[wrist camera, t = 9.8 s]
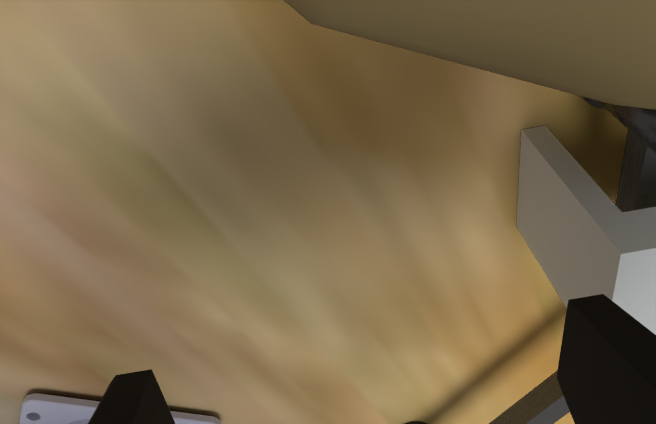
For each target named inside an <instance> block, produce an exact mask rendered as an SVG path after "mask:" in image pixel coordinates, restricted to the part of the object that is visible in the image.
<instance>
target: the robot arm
mask: <svg viewBox="0 0 656 424" xmlns="http://www.w3.org/2000/svg"><path fill="white" fill-rule="evenodd" d="M557 380H558V383H559V385H560V388H561V390H562V393H563V395H564V398H565V400H566V403H567V406H568V408H569V410H570V413H571V415H572V418H573V420H574V422H575V424H656V335H655V334H654V333H653V332H651V331H650V330H649V329H647V328H646V327H645V326H644V325H642V324H641V323H640V322H639V321H637V320H636V319H635V318H633V317H632V316H631V315H630V314H628V313H627V312H626V311H625V310H623V309H622V308H621V307H619V306H618V305H617V304H616V303H614V302H613V301H612V300H610V299H609V298H608V297H607V296H605V295H604V294H600V295H594V296H588V297H582V298H576V299H570V300H568V305H567V312H566V318H565V325H564V332H563V338H562V345H561V352H560V359H559V365H558V372H557ZM19 424H221V422H220V420H219V419H218V418H216V417H213V416H206V415H199V414H191V413H183V412H176V411H170V410H169V408H168V406H167V403H166V401H165V399H164V396H163V394H162V392H161V390H160V387H159V385H158V383H157V381H156V378H155V376H154V374H153V371H152V369H151V370H145V371H139V372H133V373H127V374H121V375H116V376H115V377H114V379H113V380H112V381H111V383H110V385H109V387H108V388H107V390H106V392H105V394H104V395H103V397H102V399H101V401H92V400H84V399H77V398H69V397H61V396H54V395H46V394H39V393H34V394H30V395H27V396H26V397H25V398H24V401H23V403H22V406H21V413H20V421H19Z"/></svg>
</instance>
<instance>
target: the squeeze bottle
mask: <svg viewBox="0 0 656 424" xmlns="http://www.w3.org/2000/svg"><path fill="white" fill-rule="evenodd" d="M284 1H285V2H286V3H287V4H289V5H290V6H291V7H292V8H293V9H295V10H296V11H297V12H298V13H299V14H301V15H302V16H303V17H304V18H305V19H307V20H308V21H309V22H310V23H311V24H314V25H318V26H322V27H325V28H329V29H333V30H337V31H340V32H344V33H348V34H351V35H355V36H359V37H363V38H366V39H370V40H374V41H378V42H381V43H385V44H389V45H393V46H396V47H400V48H404V49H407V50H411V51H415V52H419V53H422V54H426V55H430V56H434V57H437V58H441V59H445V60H448V61H452V62H456V63H460V64H463V65H467V66H471V67H475V68H478V69H482V70H486V71H490V72H493V73H497V74H501V75H504V76H508V77H512V78H516V79H519V80H523V81H527V82H531V83H534V84H538V85H542V86H545V87H549V88H553V89H557V90H560V91H564V92H568V93H572V94H575V95H579V96H583V97H587V98H590V99H594V100H598V101H601V102H605V103H609V104H613V105H621V106H629V107H638V108H646V109H656V0H284Z"/></svg>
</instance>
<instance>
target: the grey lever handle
mask: <svg viewBox="0 0 656 424" xmlns="http://www.w3.org/2000/svg"><path fill="white" fill-rule="evenodd" d="M582 97H583V96H582ZM583 98H584V99H585V100H586V101H587V102H588V103H589V104H591V105H592V106H594V107H598V108H605V109H606V110H608V111H609V112H610V113H611V114H612V115H613V116H614V117H615V118H616V119H618V120H619V121H620V122H621V123H622V124H623V125H624V126H625V127H627V128H628V133H627V139H626V145H625V151H624V157H623V163H622V169H621V174H620V180H619V186H618V192H617V198H616V204H615V205H616V206H617V207H618V208H619V210H620V211H621V212H622V213H623V212H628V211H634V210H640V209H645V208H651V207H656V109H646V108H638V107H629V106H621V105H613V104H609V103H605V102H601V101H598V100H594V99H590V98H587V97H583ZM557 372H558V370H557V371H556V372H555V373H553V374H552V375H551V376H550V377H548V378H547V379H546V380H544V381H543V382H542V383H541V384H539V385H538V386H537V387H535V388H534V389H533V390H532V391H530V392H529V393H528V394H526V395H525V396H524V397H523V398H521V399H520V400H519V401H517V402H516V403H515V404H514V405H512V406H511V407H510V408H508V409H507V410H506V411H505V412H503V413H502V414H501V415H500V416H498V417H497V418H496V419H494V420H493V421H492V422H491V423H489V424H554V423H555V422H556V421H558V420H559V419H560V418H562V417H563V416H565V415H566V414H567V413H569V412H570V410H569V408H568V406H567V403H566V400H565V398H564V395H563V393H562V390H561V388H560V385H559V383H558V380H557ZM407 424H426V423H423V422H410V423H407Z"/></svg>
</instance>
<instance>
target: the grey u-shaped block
mask: <svg viewBox="0 0 656 424" xmlns="http://www.w3.org/2000/svg"><path fill="white" fill-rule="evenodd" d="M516 227H517V228H518V230H519V231H520V233H521V235H522V236H523V238H524V240H525V241H526V243H527V244H528V246H529V248H530V249H531V251H532V253H533V254H534V256H535V258H536V259H537V261H538V262H539V264H540V266H541V267H542V269H543V271H544V272H545V274H546V276H547V277H548V279H549V280H550V282H551V284H552V285H553V287H554V289H555V290H556V292H557V293H558V295H559V297H560V298H561V300H562V302H563V303H564V305H565V307H566V308H567V305H568V300H570V299H576V298H582V297H588V296H594V295H600V294H604V295H605V296H607V297H608V298H609V299H610V300H612V301H613V302H614V303H616V304H617V305H618V306H619V307H621V308H622V309H623V310H625V311H626V312H627V313H628V314H630V315H631V316H632V317H633V318H635V319H636V320H637V321H639V322H640V323H641V324H642V325H644V326H645V327H646V328H647V329H649V330H650V331H651V332H653V333H654V334H655V335H656V207H651V208H645V209H640V210H634V211H628V212H623V213H622V212H621V211H620V210H619V208H618V207H617V206H616V205H615V204H614V203H613V202H612V200H611V199H610V198H609V197H608V196H607V195H606V194H605V193H604V191H603V190H602V189H601V188H600V187H599V186H598V185H597V183H596V182H595V181H594V180H593V179H592V178H591V177H590V176H589V174H588V173H587V172H586V171H585V170H584V169H583V168H582V166H581V165H580V164H579V163H578V162H577V161H576V160H575V159H574V157H573V156H572V155H571V154H570V153H569V152H568V151H567V149H566V148H565V147H564V146H563V145H562V144H561V143H560V142H559V140H558V139H557V138H556V137H555V136H554V135H553V134H552V132H551V131H550V130H549V129H548V128H547V127H546V126H540V127H534V128H529V129H523V130H521V146H520V165H519V184H518V203H517V222H516Z"/></svg>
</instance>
